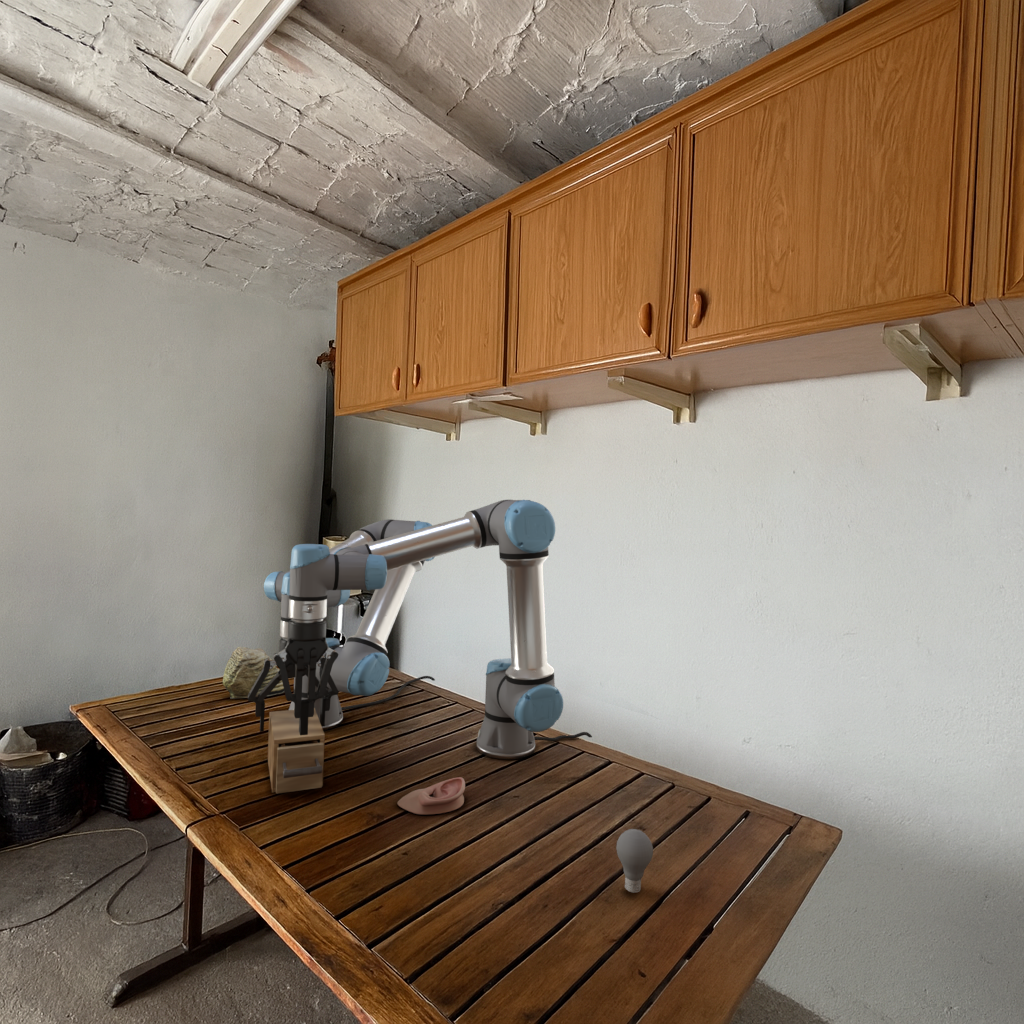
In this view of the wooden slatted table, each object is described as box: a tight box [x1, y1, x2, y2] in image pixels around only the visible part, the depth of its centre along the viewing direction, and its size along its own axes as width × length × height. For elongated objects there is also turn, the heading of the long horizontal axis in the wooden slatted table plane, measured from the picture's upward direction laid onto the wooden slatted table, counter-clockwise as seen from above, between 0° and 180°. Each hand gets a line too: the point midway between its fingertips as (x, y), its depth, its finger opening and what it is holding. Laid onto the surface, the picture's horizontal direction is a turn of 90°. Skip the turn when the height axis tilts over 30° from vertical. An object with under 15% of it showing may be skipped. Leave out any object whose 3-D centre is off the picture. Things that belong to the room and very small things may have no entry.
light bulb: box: [615, 828, 654, 894], centre depth 106 cm, size 6×6×10 cm
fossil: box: [222, 646, 285, 699], centre depth 198 cm, size 9×18×15 cm, turn 132°
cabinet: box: [267, 708, 326, 794], centre depth 145 cm, size 18×10×11 cm, turn 24°
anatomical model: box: [397, 776, 466, 816], centre depth 133 cm, size 13×4×12 cm
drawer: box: [275, 740, 324, 794], centre depth 139 cm, size 23×9×9 cm, turn 24°
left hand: (292, 727), depth 150 cm, fingers open, 13 cm apart
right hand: (303, 732), depth 131 cm, fingers closed
